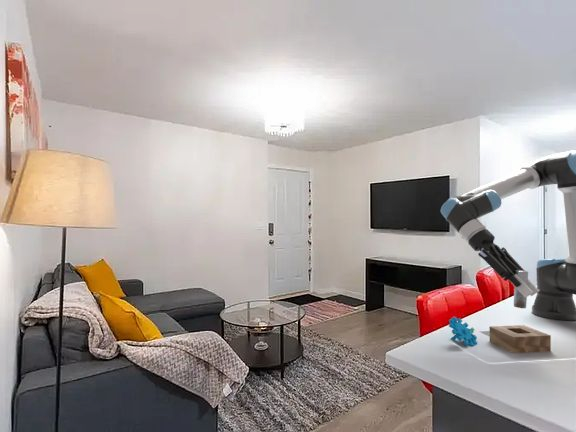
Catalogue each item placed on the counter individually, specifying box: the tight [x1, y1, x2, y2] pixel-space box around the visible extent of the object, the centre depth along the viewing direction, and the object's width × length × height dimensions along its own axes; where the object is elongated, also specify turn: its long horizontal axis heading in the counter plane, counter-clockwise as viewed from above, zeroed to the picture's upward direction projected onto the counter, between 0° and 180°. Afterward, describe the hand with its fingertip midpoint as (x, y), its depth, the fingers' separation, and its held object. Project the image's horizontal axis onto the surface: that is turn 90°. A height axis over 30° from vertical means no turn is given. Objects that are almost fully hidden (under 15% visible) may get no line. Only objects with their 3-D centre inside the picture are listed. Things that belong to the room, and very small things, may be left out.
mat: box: [479, 330, 490, 338], centre depth 117 cm, size 10×8×1 cm
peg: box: [513, 270, 529, 309], centre depth 106 cm, size 3×3×11 cm
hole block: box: [489, 324, 552, 354], centre depth 107 cm, size 12×10×5 cm
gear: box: [448, 316, 478, 347], centre depth 112 cm, size 11×6×10 cm
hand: (532, 294), depth 104 cm, fingers closed on peg, 3 cm apart
